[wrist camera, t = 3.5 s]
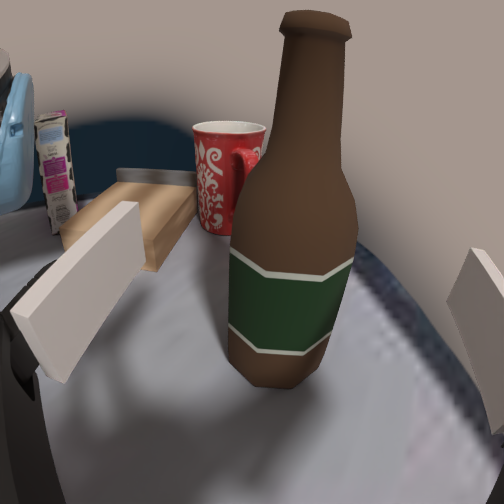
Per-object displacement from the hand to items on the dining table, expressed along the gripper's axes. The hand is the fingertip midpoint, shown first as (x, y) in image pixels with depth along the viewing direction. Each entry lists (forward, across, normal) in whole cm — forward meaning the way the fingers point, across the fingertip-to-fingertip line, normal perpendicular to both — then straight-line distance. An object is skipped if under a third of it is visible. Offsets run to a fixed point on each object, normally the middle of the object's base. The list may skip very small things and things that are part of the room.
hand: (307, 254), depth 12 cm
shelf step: (+23, -21, -14) cm, 34 cm away
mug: (+27, -8, -15) cm, 32 cm away
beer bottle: (+7, 0, -15) cm, 16 cm away
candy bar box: (+25, -35, -15) cm, 45 cm away
